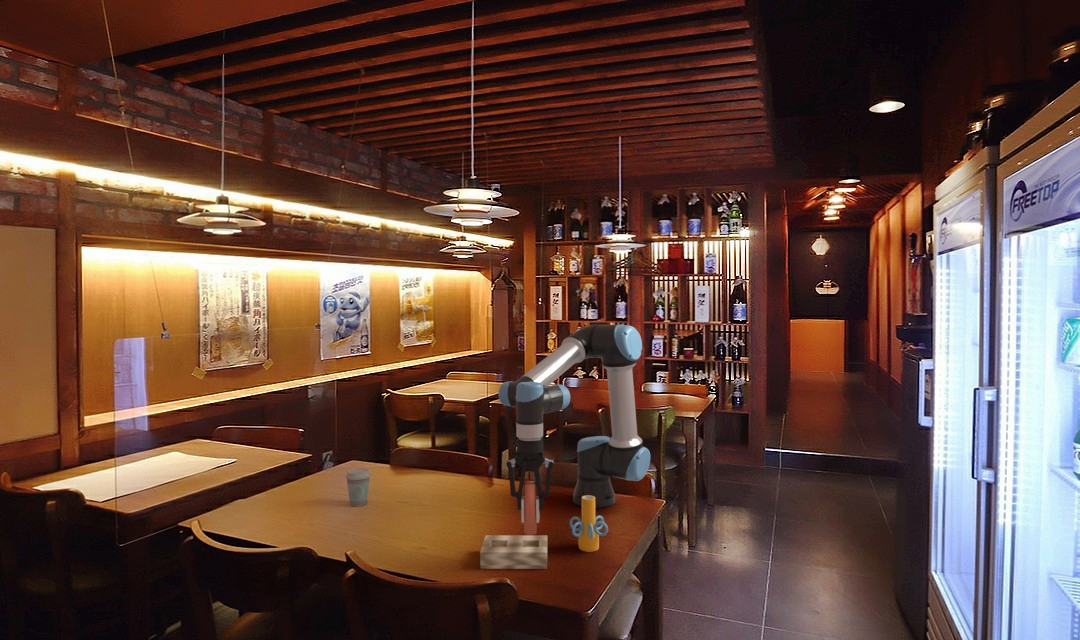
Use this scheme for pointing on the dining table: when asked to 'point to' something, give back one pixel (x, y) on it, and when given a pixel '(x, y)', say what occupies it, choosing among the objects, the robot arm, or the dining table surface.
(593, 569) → the dining table surface
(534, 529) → the dowel
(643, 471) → the robot arm
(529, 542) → the socket block
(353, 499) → the coffee cup
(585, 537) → the cylinder
